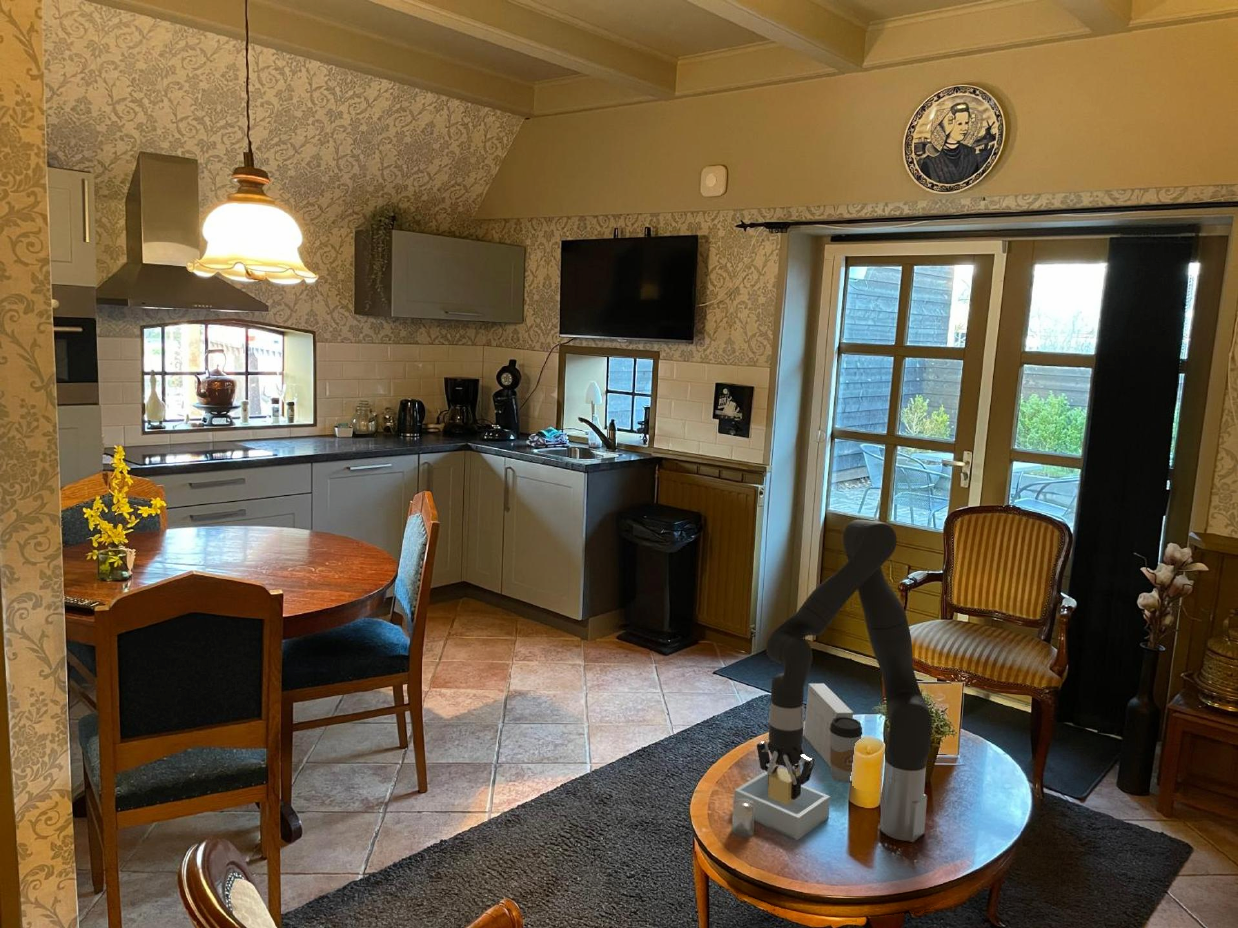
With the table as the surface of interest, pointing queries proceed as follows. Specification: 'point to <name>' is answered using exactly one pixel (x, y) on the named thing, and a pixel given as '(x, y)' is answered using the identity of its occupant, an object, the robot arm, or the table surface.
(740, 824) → the metal cylinder
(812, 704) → the skincare box
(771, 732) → the robot arm
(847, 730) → the coffee cup
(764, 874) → the table surface
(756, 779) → the tote
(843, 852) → the table surface
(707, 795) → the table surface
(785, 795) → the ochre cube
